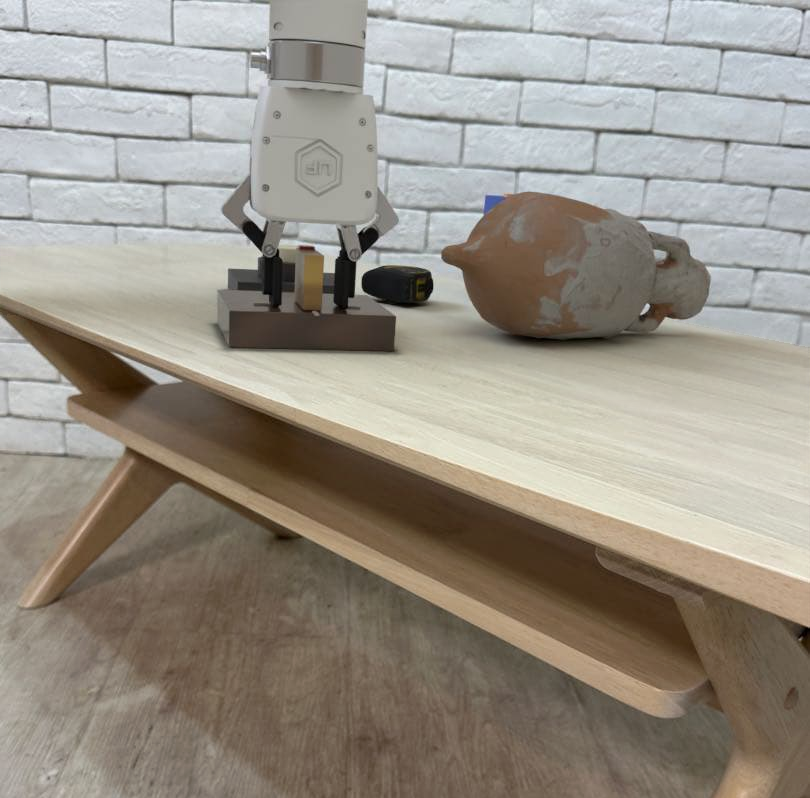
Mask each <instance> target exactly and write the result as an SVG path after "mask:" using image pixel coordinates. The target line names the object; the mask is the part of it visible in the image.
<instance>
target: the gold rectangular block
mask: <svg viewBox="0 0 810 798" xmlns="http://www.w3.org/2000/svg"><path fill="white" fill-rule="evenodd" d="M297 246H298V248H296V263H295V293H294V300H295V301H296V303H297V304H298V305H299V306H300V307H301V308H302V309H303V310H312V311H321V310H322V293H323V273H324V270H325V269H324V268H325V267H324V266H325V255H324V254H322V253H321V252H319V251H318V250H317V249H316V246H314V245H309V244H308V245H307V244H306V245H305V244H298V245H297Z"/></svg>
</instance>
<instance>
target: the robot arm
mask: <svg viewBox="0 0 810 798" xmlns="http://www.w3.org/2000/svg"><path fill="white" fill-rule="evenodd" d="M368 3H369V0H269V15H268V17H269V21H268V22H269V24H268V25H269V26H268V41H269V42H267V45H266V46H264V47H263V48H262V47H261V48H259V49H252V48H250V51H249V68H250V69H258V70H259V71H260V72H263V73H264V74H265V75H266V80H268V81H267V85H260V87H259V90H258V93H257V94H258V95H257V99H256V105H255V110H254V120H253V126H252V134H251V145H250V147H251V148H250V157H249V158H250V159H249V172H248V173H247V175H246V176H245V177H244V178H243V180H242V181H241V182H240V183H239V184H238V185H237V187H236V188H235V189H234V191H233V192H232V193H231V194H229V196H228V198H227V199H226V200H225V201H224V202H223V204H222V205H221V207H220V212H221V214H222V215H223V216H224V217H225V218H226V219H227V220H228V221H229V222H230V223H232V224H233V225H234V226H235V227H236V228H238V229H239V231H240V232H242V233H243V234H244V235H245V236H246V237H247V238H248V240H249V241H250V242H251V243H252V244H253V245H254V246H255V247H256V248H257V249H258V250H259V252H261V254H262V256H261V257H262V294H263V295H269V302H270V303H271V305H272V306H273V307H279V305H282V269H283V260H282V259H281V258H280V257H279V249H278V245H280V242H281V239H282V235H283V232H284V229H285V226H286V223H302V224H303V223H304V224H319V225H335V228H336V232H337V236H338V242H339V245H340V250H339V252H338V256H337V258H335V260H334V273H335V276H334V297H333V301H334V303H335V304H336V305H337V306H338V307H339V308H341V309H348V298H354V295H356V278H357V262H358V261H359V260H361V259H362V256H363V255H364V254H365V253H366V252H367V251H368V250H369V249H370V248H371V247H372V246H373V245H374V244H376V243H377V241H378V240H379V239H380V238H381V237H384V235H386V234H387V233H388V232H391V230H392V229H394V228H395V227H396V226H398V224H399V222H400V219H399V215H397V213H396V212H395V209H393V207H392V206H391V204H390V202H389V201H388V200H387V198H386V196H385V194H384V193H383V192H382V190H381V189H380V187H379V186H378V185H379V184H378V178H379V177H378V175H379V174H378V172H379V171H378V168H379V167H378V159H379V158H378V131H377V130H378V129H377V116H376V108H375V100H374V96H373V95H371V94H364V81H365V64H366V63H365V60H366V45H367V28H368V27H367V26H368V8H369V7H368V6H369V4H368ZM248 202H249V205H250V207H251V209H252V210H253V211H254V212H255V213H257V215H259V216H261V217H262V218H264V219H265V222H264V225H263V228H262V229H261V228H260V227H259V226H258V225H257V223H255V222H254V221H253V220H252V219H251V218H250V217H249V216H247V214H246V213H245V212H244V207H245V206H246V204H247V203H248ZM370 222H371V223H370ZM368 223H369V224H368ZM366 224H368V225H367V226H364V227H363V228H362V229H361V230H360V231H359V232H358V229H357V226H360V225H366Z"/></svg>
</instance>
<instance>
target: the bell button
mask: <svg viewBox="0 0 810 798" xmlns="http://www.w3.org/2000/svg"><path fill="white" fill-rule="evenodd" d="M296 248H298V245H295V244H279V245H278V249H279V257H280V258H281V259H282V260H283V262H292V263H296Z"/></svg>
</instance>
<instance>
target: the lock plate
mask: <svg viewBox="0 0 810 798" xmlns="http://www.w3.org/2000/svg"><path fill="white" fill-rule="evenodd" d="M216 295H217V296H216V304H217V305H216V323H217V325H218V327H219V329H220V332H221V333H222V335H223V337H224V340H225V341H226V344H227V345H228V348H235V349H236V348H238V349H277V350H279V349H284V350H286V349H287V350H320V351H321V350H323V351H324V350H327V351H329V350H330V351H365V352H366V351H370V352H371V351H372V352H379V351H380V352H394V350H395V340H396V325H397V315H395V314H394V313H392V312H391V311H389V310H388V309H387V308H386V307H384V306H382V304H380V303H379V302H377V301H376V300H374V299H373V298H372V297H370V295H368V294H355V295H354V298H348V309H341V308H339V307H338V306H337V305H336V304H335V303H334V301H333V297H334V294H322V310H321V311H312V310H303V309H302V308H301V307H300V306H299V305H298V304H297V303H296V301H295V300H294V293H293V292H282V305H279V307H273V306H272V305H271V303H270V302H269V295H263V294H262V291H241V290H229V289H217V290H216Z"/></svg>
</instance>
